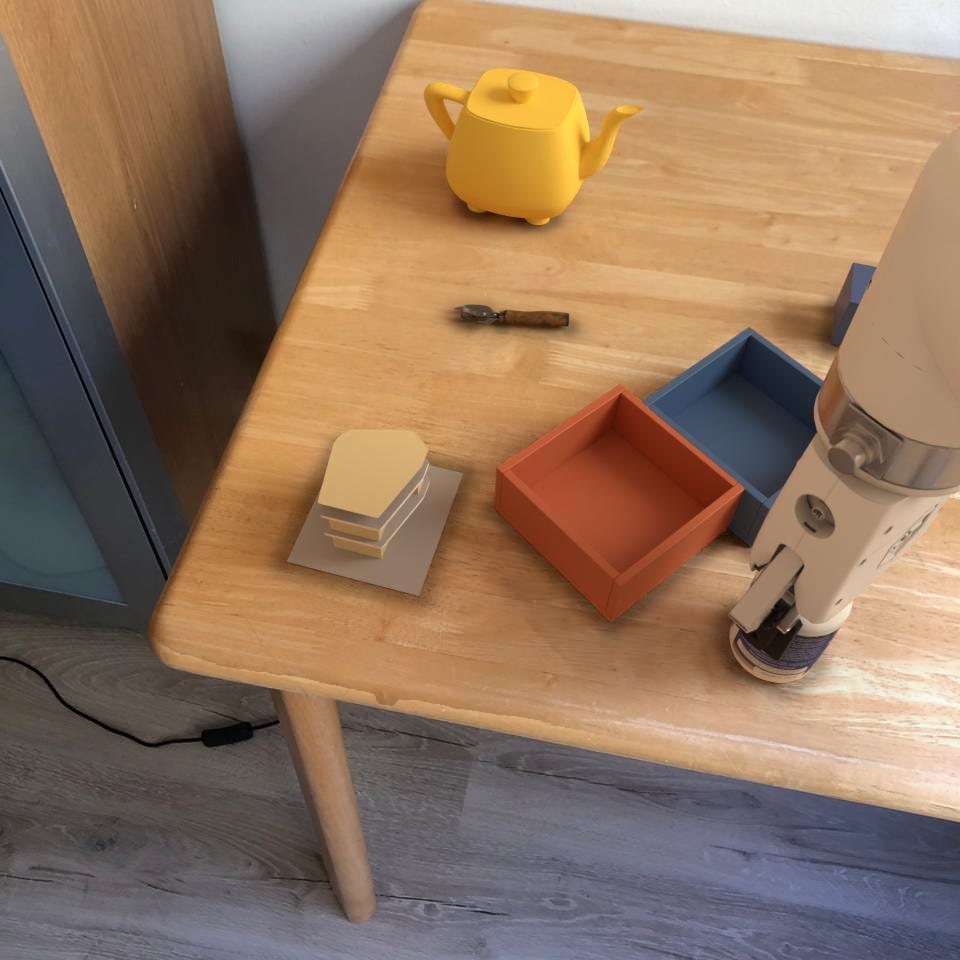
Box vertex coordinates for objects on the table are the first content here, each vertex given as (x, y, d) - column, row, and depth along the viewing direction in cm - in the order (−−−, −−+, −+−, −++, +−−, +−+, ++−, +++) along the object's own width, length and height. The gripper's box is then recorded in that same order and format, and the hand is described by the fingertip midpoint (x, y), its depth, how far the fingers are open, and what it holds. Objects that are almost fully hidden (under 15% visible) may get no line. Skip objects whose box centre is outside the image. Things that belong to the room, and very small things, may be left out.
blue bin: (855, 461, 68) (878, 420, 64) (751, 548, 64) (769, 509, 60) (734, 369, 73) (749, 326, 69) (629, 444, 68) (639, 402, 65)
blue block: (890, 357, 74) (912, 314, 70) (830, 344, 74) (849, 301, 71) (892, 316, 76) (913, 273, 73) (834, 305, 77) (853, 261, 73)
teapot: (638, 177, 86) (658, 64, 77) (610, 256, 80) (629, 144, 71) (446, 137, 89) (445, 25, 80) (405, 211, 83) (399, 98, 74)
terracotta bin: (729, 526, 64) (746, 487, 61) (610, 623, 60) (620, 586, 56) (611, 425, 69) (620, 383, 66) (493, 507, 65) (495, 467, 61)
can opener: (569, 320, 75) (571, 310, 74) (565, 342, 74) (567, 331, 73) (456, 304, 76) (455, 293, 75) (450, 325, 75) (450, 314, 74)
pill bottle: (823, 686, 58) (881, 609, 50) (734, 684, 58) (778, 607, 50) (806, 606, 61) (859, 522, 53) (722, 604, 61) (762, 520, 53)
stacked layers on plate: (419, 596, 61) (415, 550, 57) (286, 561, 62) (273, 514, 58) (463, 473, 67) (463, 423, 62) (341, 444, 68) (333, 393, 63)
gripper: (862, 577, 36) (744, 750, 51) (1099, 362, 43) (934, 569, 57) (711, 453, 39) (642, 649, 54) (953, 271, 46) (832, 490, 61)
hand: (793, 606), depth 55 cm, fingers closed on pill bottle, 5 cm apart
